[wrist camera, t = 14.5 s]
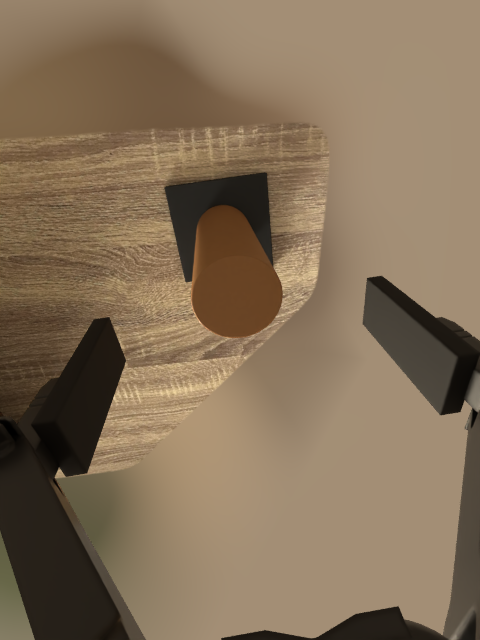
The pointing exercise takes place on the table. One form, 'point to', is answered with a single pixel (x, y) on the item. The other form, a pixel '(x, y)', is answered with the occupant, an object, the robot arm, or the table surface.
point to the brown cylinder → (232, 276)
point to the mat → (201, 196)
